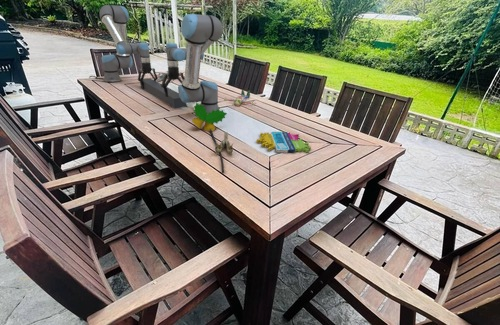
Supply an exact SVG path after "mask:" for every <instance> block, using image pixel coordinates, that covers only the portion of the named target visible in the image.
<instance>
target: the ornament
mask: <svg viewBox="0 0 500 325" xmlns="http://www.w3.org/2000/svg"><path fill="white" fill-rule="evenodd" d="M219 110H220V109H217V110H216V111H214V110H212V112H211V113H208V112H206V109H204V106H201V103H199V102H195V105H194V106H193V112H194V113H195V118H192V119H191V122H192V123H193V125H195V127H197V128H198V129H202V130H203V131H206V132H210V129H211V131H213V132H214V131H215V130H216V126H215V124H218V123H219V122H223V119H226V115H227V114H228V113H227V112H224V110H223V109H221V110H220V111H219ZM207 113H208V115H207ZM214 123H215V124H214Z"/></svg>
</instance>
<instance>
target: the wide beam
mask: <svg viewBox="0 0 500 325" xmlns="http://www.w3.org/2000/svg"><path fill="white" fill-rule="evenodd" d="M143 83H144V89H143V90H144V91H146V92H147V93H149V94H150V95H152V96H154V97H156V99H158V100H160V101H162V102H163V103H165V104H167V105H168V106H170V107H172V108H173V109H179V108H186V107H188V105H187V104H188V103H183V102H182V100H181V99H180V96H179V92H178V91H176V90H173V89H172V88H170V87H168V86H167V87H166V88H167V91H168V97H166V96H165V92H164V88H163V87H161V84H162V83H161V82H159V81H157V80H156V81H155V80H154V79H153V78H143ZM139 84H140V85H139V86H140V88H141V89H142V85H141V83H140V82H139Z"/></svg>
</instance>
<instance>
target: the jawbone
mask: <svg viewBox="0 0 500 325" xmlns="http://www.w3.org/2000/svg"><path fill="white" fill-rule="evenodd" d="M223 135H224V136H223V140H222V139H221V142H220V144H218V142H217V141H216V144H217V146H216V144H215V148H214V149H215V152H214V154H215V155H217V156H218V155H219V156H220V154H219V152H221V153H222V152H223V151H224V150H226V152H227V153H228V155H229V156H233V155H234V154H233V153H234V148H233V144H234V143H230V140H228V139H229V138H228V137H229V136H228V135H229V133H228V131H226V132H224V134H223Z"/></svg>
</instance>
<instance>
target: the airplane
mask: <svg viewBox="0 0 500 325" xmlns="http://www.w3.org/2000/svg"><path fill="white" fill-rule="evenodd" d="M155 72H156V74H157V77H158V76H159V77H158V80H156V82H162V81H163V78H164V74H168V70H166V72H161V71H155ZM168 78H169V76H168V77H167V79H168Z"/></svg>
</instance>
